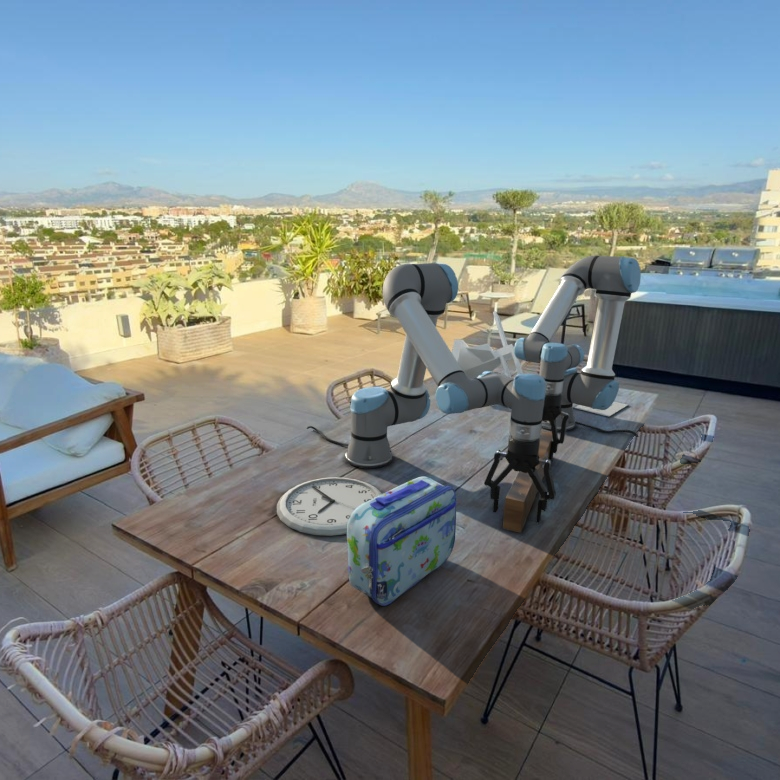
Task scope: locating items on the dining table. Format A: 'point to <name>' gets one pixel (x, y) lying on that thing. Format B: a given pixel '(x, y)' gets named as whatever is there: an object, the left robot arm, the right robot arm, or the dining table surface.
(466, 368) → the white plastic object
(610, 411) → the invitation card
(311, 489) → the wall clock
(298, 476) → the dining table surface
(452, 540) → the lunch box
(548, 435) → the board
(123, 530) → the dining table surface
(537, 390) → the left robot arm
